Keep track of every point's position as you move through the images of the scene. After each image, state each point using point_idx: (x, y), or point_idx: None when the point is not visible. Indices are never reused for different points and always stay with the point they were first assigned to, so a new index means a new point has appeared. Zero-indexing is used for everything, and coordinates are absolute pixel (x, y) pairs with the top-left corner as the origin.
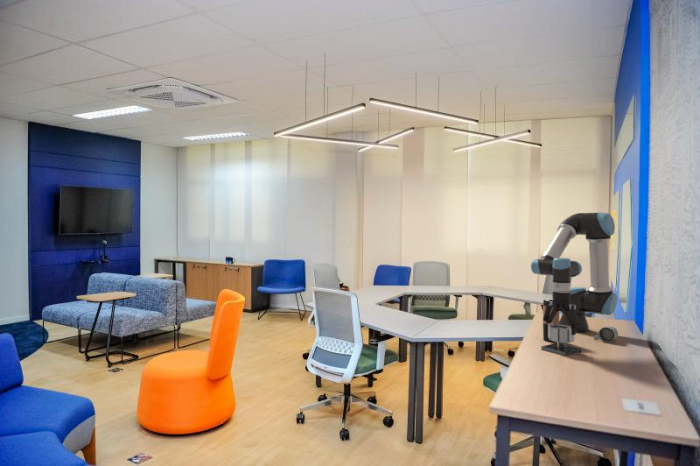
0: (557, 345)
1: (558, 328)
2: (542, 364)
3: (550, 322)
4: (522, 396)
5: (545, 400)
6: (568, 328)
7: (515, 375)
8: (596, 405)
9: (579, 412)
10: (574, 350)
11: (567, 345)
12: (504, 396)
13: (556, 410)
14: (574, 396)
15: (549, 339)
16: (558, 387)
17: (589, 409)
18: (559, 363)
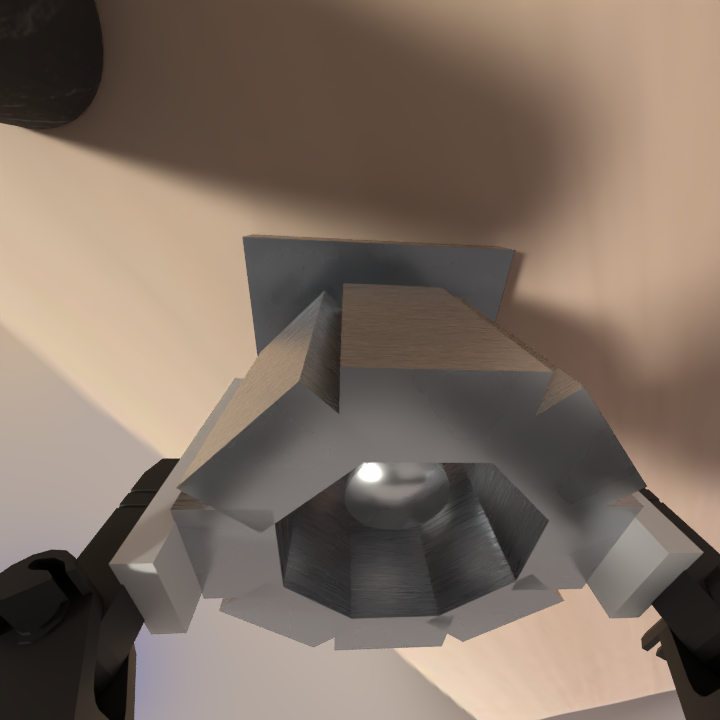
0: None
1: (433, 628)
2: None
3: (120, 610)
4: (509, 702)
5: (555, 693)
6: (559, 553)
7: (432, 667)
8: (656, 663)
9: (625, 689)
10: None
11: (373, 249)
12: (482, 714)
13: (585, 700)
14: (605, 662)
15: (45, 116)
16: (558, 655)
17: (642, 677)
18: None
